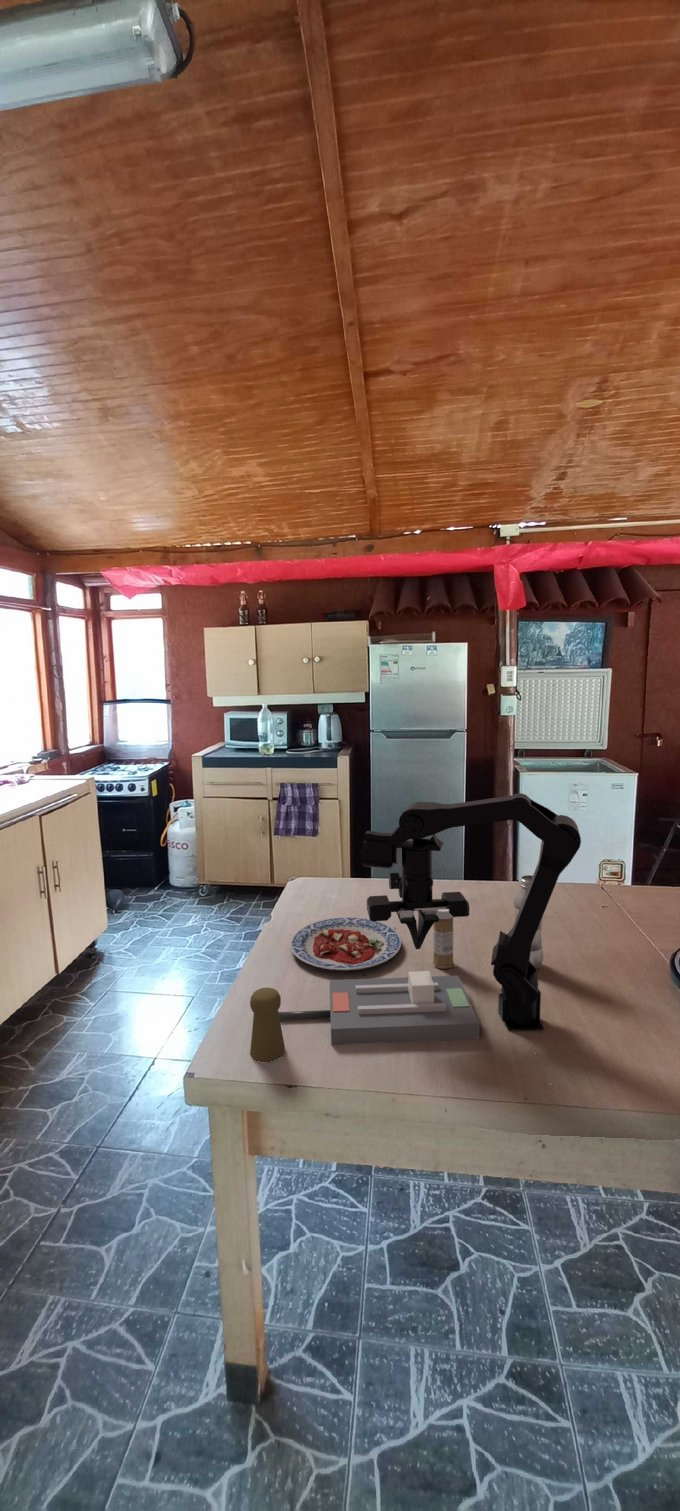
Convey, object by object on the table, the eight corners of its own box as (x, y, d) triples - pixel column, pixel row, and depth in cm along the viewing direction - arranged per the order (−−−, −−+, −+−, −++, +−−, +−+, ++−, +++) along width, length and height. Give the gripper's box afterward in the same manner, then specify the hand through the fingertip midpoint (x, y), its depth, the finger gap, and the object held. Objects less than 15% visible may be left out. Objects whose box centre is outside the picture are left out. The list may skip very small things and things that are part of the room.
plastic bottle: (506, 967, 127) (508, 879, 124) (520, 955, 132) (522, 870, 129) (534, 977, 123) (537, 886, 120) (548, 965, 128) (551, 877, 125)
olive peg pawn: (268, 1035, 105) (265, 978, 104) (292, 1049, 102) (290, 990, 100) (242, 1053, 101) (239, 993, 99) (267, 1067, 97) (264, 1006, 95)
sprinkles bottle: (451, 959, 131) (451, 902, 129) (455, 969, 127) (456, 910, 125) (430, 959, 131) (430, 902, 129) (434, 970, 127) (434, 911, 125)
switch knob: (429, 990, 113) (429, 970, 112) (434, 1005, 108) (434, 985, 107) (408, 991, 113) (408, 971, 112) (412, 1006, 108) (412, 985, 107)
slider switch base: (458, 989, 119) (458, 970, 118) (479, 1038, 103) (479, 1018, 103) (280, 995, 118) (279, 977, 117) (273, 1047, 102) (273, 1025, 102)
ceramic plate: (273, 970, 128) (273, 957, 128) (310, 921, 153) (310, 910, 153) (389, 985, 122) (389, 972, 121) (409, 931, 146) (409, 919, 146)
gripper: (454, 854, 119) (454, 927, 121) (362, 858, 118) (364, 932, 120) (470, 873, 108) (469, 953, 110) (369, 878, 107) (370, 959, 109)
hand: (417, 948), depth 113 cm, fingers closed
